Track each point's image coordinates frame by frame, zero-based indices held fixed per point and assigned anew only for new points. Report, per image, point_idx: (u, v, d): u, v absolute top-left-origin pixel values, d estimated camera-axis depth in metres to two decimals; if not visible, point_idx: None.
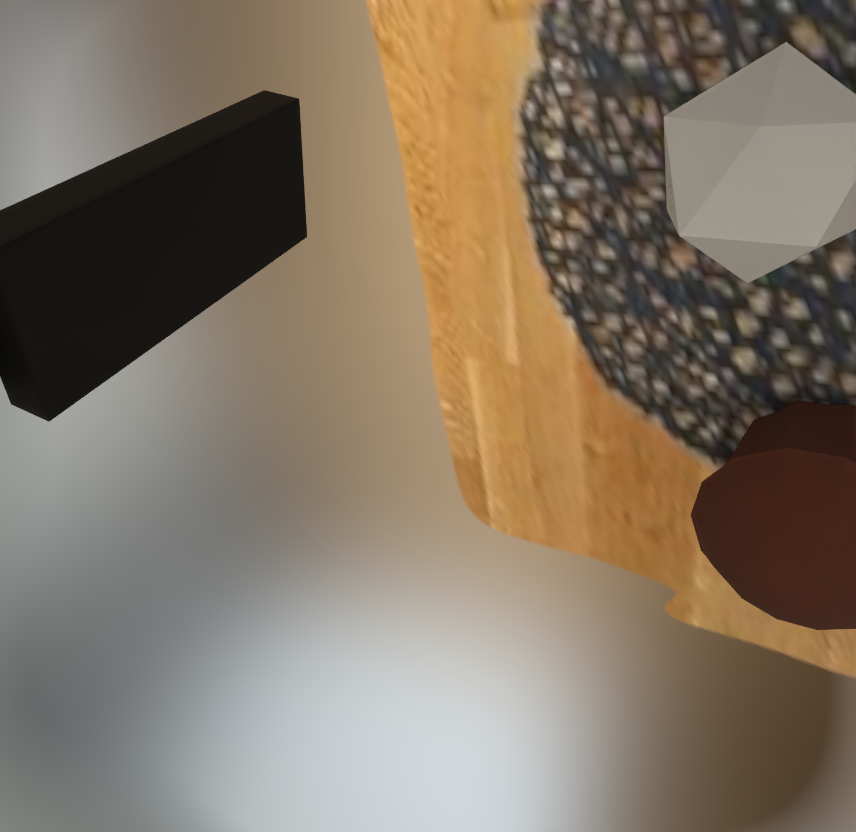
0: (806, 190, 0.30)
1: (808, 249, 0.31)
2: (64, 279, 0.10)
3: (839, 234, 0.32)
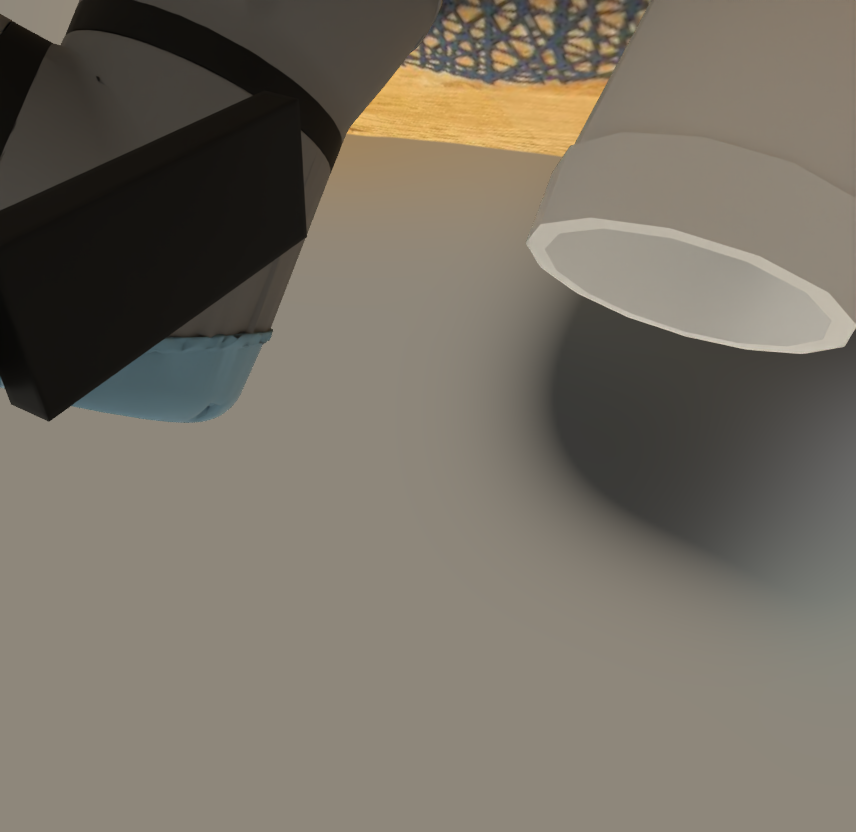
0: None
1: None
2: (64, 280, 0.10)
3: None
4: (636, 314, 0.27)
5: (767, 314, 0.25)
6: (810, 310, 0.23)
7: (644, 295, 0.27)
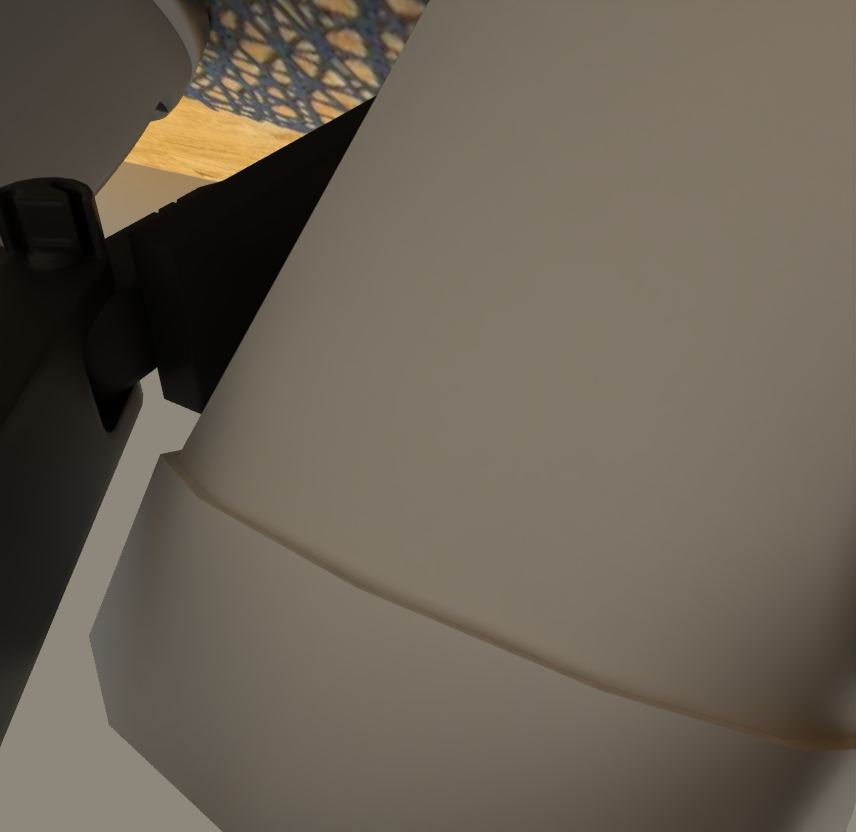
0: None
1: None
2: (228, 276, 0.11)
3: None
4: None
5: None
6: None
7: None
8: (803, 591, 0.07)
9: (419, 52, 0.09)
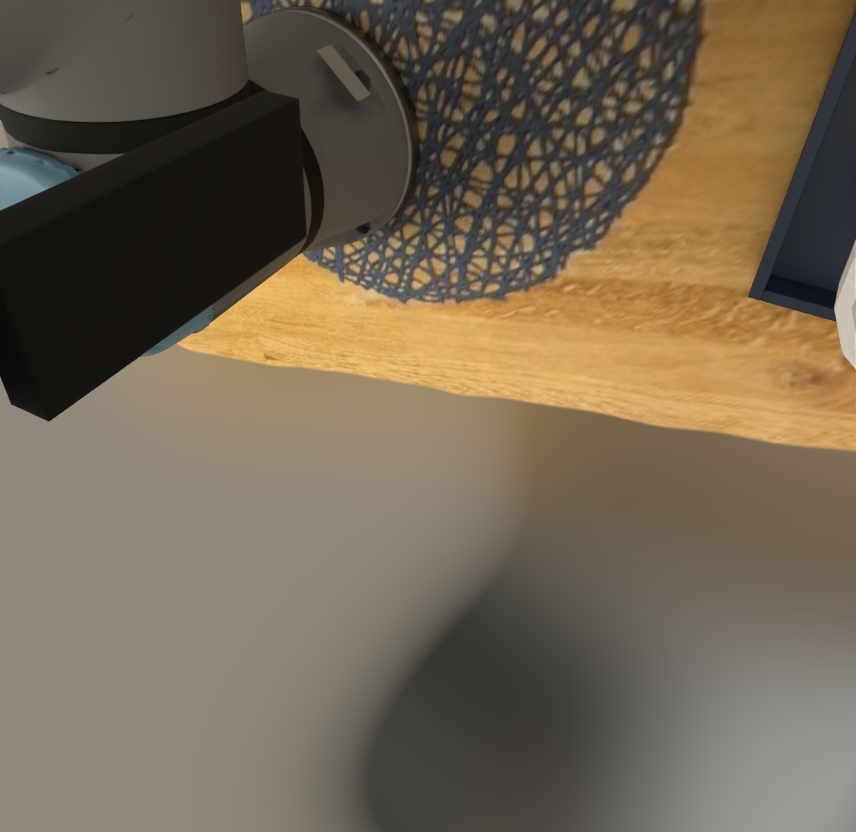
0: None
1: None
2: (64, 279, 0.10)
3: None
4: None
5: None
6: None
7: None
8: None
9: None
